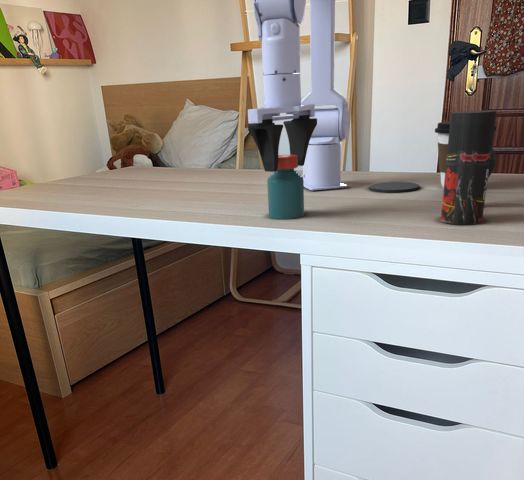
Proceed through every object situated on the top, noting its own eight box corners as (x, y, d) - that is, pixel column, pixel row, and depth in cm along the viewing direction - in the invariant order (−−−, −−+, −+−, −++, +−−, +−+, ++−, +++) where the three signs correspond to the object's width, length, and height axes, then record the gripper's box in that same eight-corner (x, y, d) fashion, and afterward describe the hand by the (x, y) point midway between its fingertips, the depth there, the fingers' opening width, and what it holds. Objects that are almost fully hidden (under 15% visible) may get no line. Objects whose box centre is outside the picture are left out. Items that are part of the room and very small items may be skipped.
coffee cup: (445, 181, 111) (451, 120, 106) (497, 185, 104) (506, 119, 99) (419, 189, 104) (424, 124, 99) (473, 194, 97) (481, 124, 92)
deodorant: (485, 224, 76) (500, 111, 70) (442, 224, 78) (453, 113, 71) (478, 215, 82) (492, 109, 75) (438, 216, 83) (448, 111, 76)
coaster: (361, 186, 111) (361, 184, 111) (404, 182, 113) (405, 180, 113) (381, 194, 102) (381, 191, 102) (428, 189, 104) (428, 187, 104)
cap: (273, 166, 88) (272, 155, 88) (298, 165, 88) (297, 154, 87) (271, 170, 84) (270, 158, 84) (297, 168, 84) (297, 156, 83)
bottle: (262, 215, 91) (259, 161, 87) (291, 210, 93) (290, 157, 89) (280, 220, 86) (278, 164, 82) (311, 215, 88) (310, 160, 85)
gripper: (272, 73, 73) (276, 175, 79) (330, 72, 83) (329, 163, 89) (234, 76, 77) (241, 173, 83) (294, 75, 87) (296, 162, 93)
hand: (284, 168), depth 86 cm, fingers open, 7 cm apart
